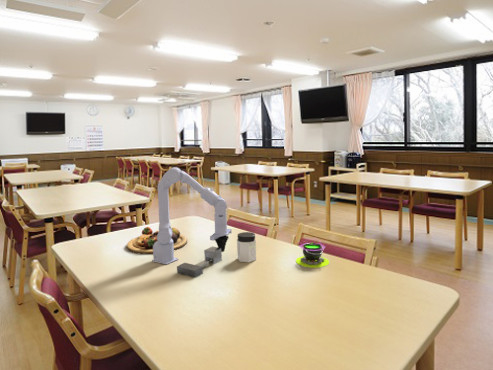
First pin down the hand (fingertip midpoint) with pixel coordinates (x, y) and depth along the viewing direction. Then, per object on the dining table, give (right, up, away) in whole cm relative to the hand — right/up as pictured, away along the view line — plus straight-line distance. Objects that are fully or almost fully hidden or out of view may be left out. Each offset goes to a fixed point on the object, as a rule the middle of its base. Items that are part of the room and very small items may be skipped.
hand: (221, 251), depth 166 cm
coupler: (-10, -5, -15) cm, 19 cm away
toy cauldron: (+42, -3, -8) cm, 43 cm away
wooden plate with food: (-36, -1, +23) cm, 43 cm away
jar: (+12, -3, -3) cm, 13 cm away
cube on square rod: (-4, -4, -5) cm, 7 cm away
